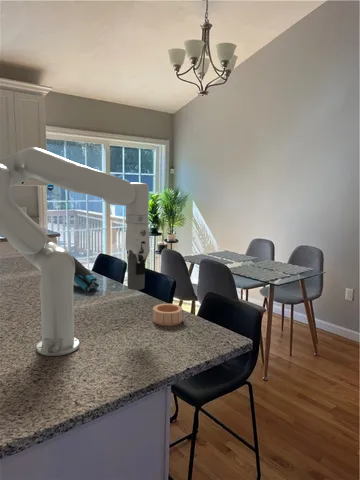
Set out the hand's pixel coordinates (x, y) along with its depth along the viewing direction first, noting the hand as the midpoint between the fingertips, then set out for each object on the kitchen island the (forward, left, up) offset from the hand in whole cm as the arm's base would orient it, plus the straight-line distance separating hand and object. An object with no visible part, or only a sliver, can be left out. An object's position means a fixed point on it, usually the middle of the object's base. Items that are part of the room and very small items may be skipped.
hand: (136, 271), depth 127 cm
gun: (+57, +33, -22) cm, 69 cm away
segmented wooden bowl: (+10, -11, -21) cm, 26 cm away
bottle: (0, 0, -6) cm, 6 cm away
